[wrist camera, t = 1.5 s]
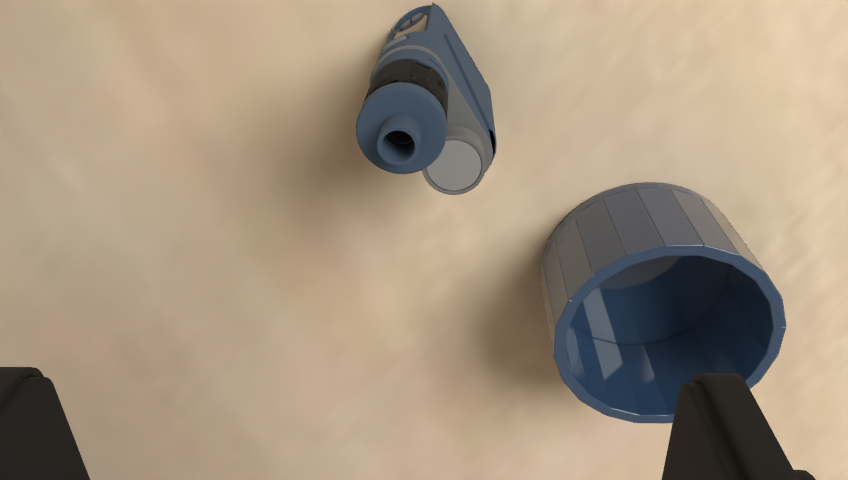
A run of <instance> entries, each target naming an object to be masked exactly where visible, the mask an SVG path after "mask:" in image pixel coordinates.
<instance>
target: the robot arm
mask: <svg viewBox="0 0 848 480" xmlns="http://www.w3.org/2000/svg"><path fill="white" fill-rule="evenodd" d="M0 480H90V478H89V476H88V473H87V471H86V468H85V465H84V463H83V460H82V458H81V455H80V452H79V450H78V447H77V445H76V442H75V439H74V437H73V434H72V432H71V429H70V426H69V424H68V421H67V419H66V416H65V413H64V411H63V408H62V406H61V403H60V400H59V398H58V395H57V393H56V390H55V387H54V385H53V383H52V381H51V380H50V379H49V378H47V377H44V376H43V374H42V373H41V371H40V370H38V369H37V368H32V367H0ZM662 480H815V478H814V477H813V476H812V475H811V474H809V473H808V472H807V471H804V470H793V468H792V466H791V465H790V463H789V461H788V459H787V457H786V455H785V454H784V452H783V450H782V448H781V446H780V444H779V443H778V441H777V439H776V437H775V435H774V433H773V431H772V430H771V428H770V426H769V424H768V422H767V420H766V419H765V417H764V415H763V413H762V411H761V409H760V408H759V406H758V404H757V402H756V400H755V398H754V396H753V395H752V393H751V391H750V389H749V387H748V385H747V384H746V382H745V380H744V379H743V377H742V376H741V375H739V374H738V373H698V374H696V375H695V376H694V378H693V381H692V383H683V384H682V385H681V386H680V390H679V394H678V399H677V404H676V410H675V415H674V420H673V425H672V430H671V435H670V440H669V445H668V451H667V456H666V461H665V466H664V471H663V476H662Z"/></svg>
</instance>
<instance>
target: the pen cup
mask: <svg viewBox="0 0 848 480" xmlns="http://www.w3.org/2000/svg"><path fill="white" fill-rule="evenodd" d="M541 290H542V296H543V301H544V307H545V312H546V317H547V323H548V328H549V334H550V339H551V345H552V350H553V355H554V358H555V361H556V364H557V367H558V370H559V373H560V376H561V379H562V380H563V382H564V383H565V384H566V385H567V386H568V387H569V389H570V390H571V391H572V392H573V393H574V394H575V395H576V397H577V398H578V399H579V400H581V402H583V403H585V404H587V405H588V406H590V407H592V408H594V409H595V410H597V411H599V412H601V413H602V414H604V415H607V416H610V417H614V418H618V419H622V420H626V421H630V422H634V423H636V422H637V423H669V422H670V423H673V420H674V415H675V410H676V404H677V399H678V394H679V390H680V386H681V385H682V384H683V383H692V381H693V378H694V376H695V375H696V374H698V373H738V374H739V375H741V376H742V377H743V379H744V380H745V382H746V384H747V385H748V387H749V389H750V388H752V387H753V386H754V385H756V384H757V383H758V382H759V380H761V379H762V377H763V376H764V375H765V373H766V372H767V370H768V369H769V368H770V366H771V365H772V363H773V362H774V361H775V359H776V358H777V356H778V354H779V351H780V347H781V344H782V340H783V337H784V333H785V329H786V320H785V313H784V305H783V299H782V296H781V295H780V293H779V292H778V290H777V289H776V287H775V285H774V284H773V282H772V281H771V279H770V278H769V276H768V275H767V273H766V272H765V270H764V269H763V268H762V266H761V265H760V263H759V262H758V261H757V259H756V258H755V256H754V255H753V254H752V252H751V251H750V250H749V248H748V247H747V245H746V244H745V243H744V241H743V240H742V239H741V237H740V236H739V234H738V233H737V232H736V230H735V229H734V228H733V226H732V225H731V223H730V222H729V221H728V219H727V218H726V216H725V215H724V214H723V213H722V212H721V211H720V210H719V209H718V208H717V207H716V206H715V205H714V204H713V203H711V202H710V201H709V200H707V199H706V198H704V197H703V196H701V195H700V194H698V193H696V192H693V191H691V190H689V189H686V188H683V187H679V186H676V185H671V184H665V183H635V184H630V185H624V186H620V187H617V188H614V189H610V190H607V191H605V192H603V193H601V194H598V195H596V196H594V197H592V198H591V199H589V200H587V201H585V202H584V203H582V204H581V205H580V206H578V207H577V208H576V209H574V210H573V211H572V212H571V213H570V214H569V215H568V216H567V217H566V218H565V219H564V220H563V221H562V222H561V223H560V225H559V226H558V227H557V228H556V230H555V231H554V233H553V234H552V236H551V238H550V239H549V242H548V244H547V246H546V248H545V251H544V255H543V258H542V264H541Z"/></svg>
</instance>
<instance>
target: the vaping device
mask: <svg viewBox="0 0 848 480" xmlns="http://www.w3.org/2000/svg"><path fill="white" fill-rule="evenodd" d="M368 95H369V96H368ZM356 135H357V140H358V143H359V146H360V148H361V150H362V152H363V153H364V155H365V156H366V157H367V158H368V159H369V160H370V161H371V162H372V163H373V164H374V165H376V166H377V167H379V168H381V169H383V170H385V171H388V172H391V173H396V174H409V173H414V172H418V171H420V170H422V172H423V175H424V177H425V179H426V181H427V182H428V183H429V185H430V186H432V187H433V188H434V189H436V190H437V191H439V192H442V193H444V194H449V195H458V194H463V193H466V192H468V191H470V190H472V189H474V188H475V187H476V186H477V185H478V184H479V183H480V181H481V180H482V178H483V176H484V174H485V172H486V171H487V170H488V168H489V166H490V165H491V163H492V161H493V158H494V156H495V153H496V135H495V127H494V118H493V110H492V102H491V94H490V90H489V87H488V85H487V84H486V83H485V82H484V79H483V77H482V75H481V73H480V72H479V70H478V68H477V67H476V65H475V63H474V62H473V60H472V58H471V57H470V55H469V53H468V52H467V50H466V48H465V46H464V45H463V43H462V41H461V40H460V38H459V36H458V35H457V33H456V31H455V30H454V28H453V26H452V25H451V23H450V21H449V19H448V18H447V16H446V14H445V13H444V11H443V10H442V9H441V8H440V7H439V6H438V5H436V4H434V3H432V5H431V6H423V7H419V8H416V9H414V10H412V11H410V12H409V13H407V14H406V15H405V16H404V17H403V18H402V19H401V20H400V21H399V22H398V24H397V25H396V27H395V29H394V30H393V29H391V32H390V34H389V37H388V39H387V42H386V44H385V46H384V47H383V48H382V52H381V54H380V56H379V58H378V61H377V63H376V65H375V67H374V69H373V71H372V74H371V78H370V88H369V90H368V93H367V95H366V98H365V101H364V103H363V106H362V108H361V111H360V113H359V116H358V119H357V124H356Z"/></svg>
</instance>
